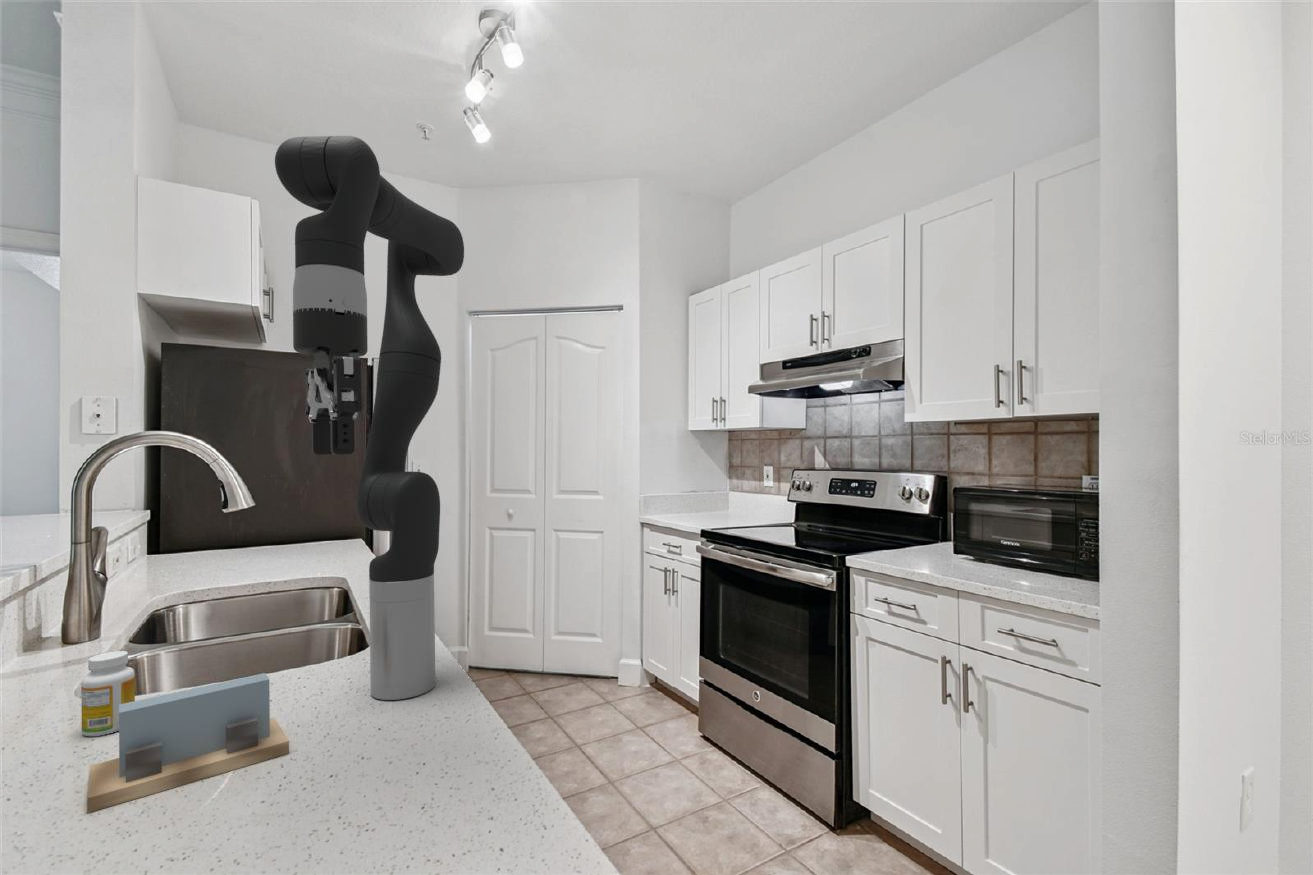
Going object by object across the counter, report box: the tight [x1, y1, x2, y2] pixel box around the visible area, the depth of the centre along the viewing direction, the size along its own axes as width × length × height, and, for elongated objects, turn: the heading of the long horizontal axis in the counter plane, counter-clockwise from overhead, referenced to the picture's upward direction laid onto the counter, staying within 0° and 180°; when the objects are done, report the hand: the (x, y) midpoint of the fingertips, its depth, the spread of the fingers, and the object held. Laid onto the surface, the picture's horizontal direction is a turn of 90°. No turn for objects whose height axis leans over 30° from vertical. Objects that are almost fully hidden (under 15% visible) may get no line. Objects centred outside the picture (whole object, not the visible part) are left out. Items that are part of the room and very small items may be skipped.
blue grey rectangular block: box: [118, 672, 271, 778], centre depth 73 cm, size 14×3×7 cm, turn 131°
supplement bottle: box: [80, 650, 136, 737], centre depth 83 cm, size 5×5×10 cm
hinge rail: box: [86, 717, 290, 814], centre depth 72 cm, size 18×9×4 cm, turn 131°
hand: (332, 454), depth 70 cm, fingers open, 8 cm apart
